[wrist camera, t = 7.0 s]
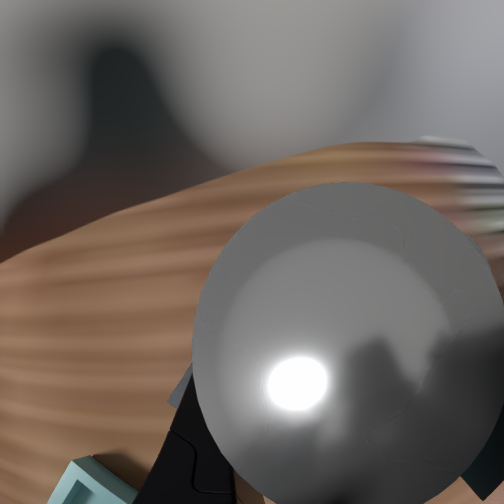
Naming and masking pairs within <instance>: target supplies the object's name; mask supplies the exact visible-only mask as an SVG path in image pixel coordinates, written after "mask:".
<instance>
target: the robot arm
mask: <svg viewBox="0 0 504 504" xmlns="http://www.w3.org/2000/svg"><path fill="white" fill-rule="evenodd" d="M460 476H461V477H462V478H463V480H464V481H465V482H466V483H467V484H468V485H469V486H470V488H471V489H472V490H473V491H474V492H475V493H476V495H477V496H478V497H479V498H480V499H481V500H482V501H484V500H485V499H486V498H487V497H488V496H489V495H490V494H491V493H492V492H493V491H494V490H495V489H496V488H497V487H498V486H499V485H500V484H501V483H502V482H503V481H504V403H503V406H502V409H501V412H500V415H499V417H498V420H497V422H496V425H495V427H494V429H493V431H492V433H491V435H490V437H489V438H488V440H487V442H486V444H485V445H484V447H483V449H482V450H481V451H480V453H479V454H478V456H477V457H476V458H475V460H474V461H473V462H472V464H471V465H470V466H469V467H468V468H467V469H466V470H465V471H464V472H463V473H462V474H461V475H460ZM132 504H265V502H264V498H263V495H262V494H261V493H259V492H258V491H257V490H256V489H254V488H253V487H252V486H251V485H250V484H249V483H248V482H247V481H245V480H244V479H243V478H242V477H241V476H240V475H239V474H238V473H237V472H236V470H235V469H234V468H233V467H232V465H231V464H230V463H229V462H228V460H227V459H226V458H225V457H224V455H223V454H222V453H221V451H220V449H219V447H218V446H217V444H216V442H215V440H214V438H213V437H212V435H211V433H210V431H209V429H208V427H207V424H206V422H205V419H204V416H203V413H202V411H201V408H200V405H199V402H198V398H197V393H196V388H195V382H194V377H193V371H192V374H191V376H190V379H189V381H188V384H187V386H186V389H185V391H184V394H183V396H182V399H181V401H180V404H179V406H178V409H177V411H176V414H175V417H174V419H173V422H172V424H171V427H170V431H168V434H167V436H166V439H165V441H164V444H163V446H162V448H161V451H160V453H159V455H158V457H157V459H156V461H155V463H154V465H153V467H152V469H151V471H150V473H149V475H148V476H147V478H146V480H145V482H144V483H143V485H142V487H141V488H140V490H139V492H138V494H137V495H136V497H135V499H134V501H133V502H132Z"/></svg>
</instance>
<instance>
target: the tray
mask: <svg viewBox="0 0 504 504" xmlns="http://www.w3.org/2000/svg"><path fill="white" fill-rule="evenodd" d="M138 492H139V491H137V490H136V489H134V488H133V487H131V486H130V485H128V484H127V483H126V482H124V481H123V480H121V479H120V478H119V477H117V476H116V475H114V474H113V473H112V472H110V471H109V470H108V469H107V468H105V467H104V466H103V465H101V464H100V463H99V462H98V461H96V460H95V459H94V458H93V457H92V456H90V455H89V456H86V457H82V458H79V459H75V460H72V461H71V463H70V464H69V466H68V468H67V469H66V471H65V473H64V474H63V476H62V478H61V479H60V481H59V483H58V485H57V486H56V488H55V490H54V492H53V493H52V495H51V497H50V499H49V500H48V502H47V504H132V502H133V501H134V499H135V497H136V495H137V494H138Z"/></svg>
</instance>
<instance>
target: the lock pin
mask: <svg viewBox="0 0 504 504" xmlns="http://www.w3.org/2000/svg"><path fill="white" fill-rule="evenodd" d="M192 367H193V377H194V382H195V388H196V393H197V398H198V402H199V405H200V408H201V411H202V413H203V416H204V419H205V422H206V424H207V427H208V429H209V431H210V433H211V435H212V437H213V438H214V440H215V442H216V444H217V446H218V447H219V449H220V451H221V453H222V454H223V455H224V457H225V458H226V459H227V460H228V462H229V463H230V464H231V465H232V467H233V468H234V469H235V470H236V472H237V473H238V474H239V475H240V476H241V477H242V478H243V479H244V480H245V481H247V482H248V483H249V484H250V485H251V486H252V487H253V488H254V489H256V490H257V491H258V492H259V493H261V494H262V495H264V496H265V497H267V498H268V499H270V500H272V501H273V502H275V503H277V504H423V503H425V502H427V501H428V500H430V499H432V498H433V497H435V496H436V495H438V494H439V493H441V492H442V491H443V490H445V489H446V488H447V487H448V486H450V485H451V484H452V483H453V482H454V481H456V480H457V479H458V478H459V477H460V475H461V474H462V473H463V472H464V471H465V470H466V469H467V468H468V467H469V466H470V465H471V464H472V462H473V461H474V460H475V458H476V457H477V456H478V454H479V453H480V451H481V450H482V449H483V447H484V445H485V444H486V442H487V440H488V438H489V437H490V435H491V433H492V431H493V429H494V427H495V425H496V422H497V420H498V417H499V415H500V412H501V409H502V406H503V403H504V304H503V300H502V297H501V295H500V292H499V289H498V287H497V284H496V282H495V280H494V278H493V276H492V274H491V272H490V270H489V268H488V266H487V265H486V263H485V261H484V260H483V258H482V257H481V255H480V253H479V252H478V251H477V249H476V248H475V247H474V246H473V244H472V243H471V242H470V241H469V239H468V238H467V237H466V236H465V235H464V234H463V233H462V232H461V231H460V230H459V229H458V228H457V227H456V226H455V225H454V224H453V223H452V222H451V221H449V220H448V219H447V218H446V217H445V216H443V215H442V214H441V213H439V212H438V211H436V210H435V209H433V208H432V207H430V206H429V205H427V204H425V203H423V202H422V201H420V200H418V199H416V198H414V197H412V196H410V195H407V194H405V193H402V192H399V191H397V190H394V189H390V188H386V187H383V186H379V185H372V184H366V183H352V182H340V183H329V184H322V185H318V186H313V187H309V188H305V189H302V190H299V191H297V192H294V193H291V194H288V195H286V196H284V197H283V198H281V199H279V200H277V201H275V202H273V203H271V204H269V205H268V206H267V207H265V208H264V209H262V210H261V211H260V212H258V213H257V214H255V215H254V216H253V217H252V218H251V219H250V220H248V221H247V222H246V223H245V224H244V225H243V226H242V227H241V228H240V229H239V230H238V231H237V232H236V233H235V235H234V236H233V237H232V238H231V240H230V241H229V242H228V243H227V245H226V246H225V247H224V248H223V250H222V251H221V253H220V255H219V257H218V258H217V260H216V262H215V263H214V265H213V267H212V268H211V270H210V273H209V275H208V277H207V280H206V282H205V285H204V287H203V289H202V292H201V295H200V299H199V303H198V307H197V311H196V315H195V319H194V328H193V338H192Z"/></svg>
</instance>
